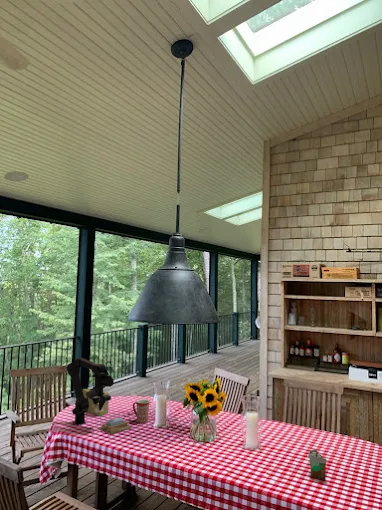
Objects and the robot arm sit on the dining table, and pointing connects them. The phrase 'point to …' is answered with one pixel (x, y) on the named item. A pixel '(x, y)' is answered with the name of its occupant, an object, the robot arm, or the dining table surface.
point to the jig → (114, 428)
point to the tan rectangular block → (97, 408)
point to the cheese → (93, 403)
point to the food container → (317, 465)
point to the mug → (141, 410)
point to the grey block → (115, 422)
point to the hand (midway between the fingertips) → (98, 409)
